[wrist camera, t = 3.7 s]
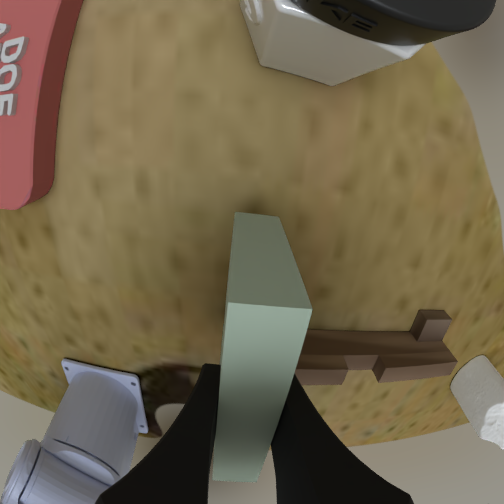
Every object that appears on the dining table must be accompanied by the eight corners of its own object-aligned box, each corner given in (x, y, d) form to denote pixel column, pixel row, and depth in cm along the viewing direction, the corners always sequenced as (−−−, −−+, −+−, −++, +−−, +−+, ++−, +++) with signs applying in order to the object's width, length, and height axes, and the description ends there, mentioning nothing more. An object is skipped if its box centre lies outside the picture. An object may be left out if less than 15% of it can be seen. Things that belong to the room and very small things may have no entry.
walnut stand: (418, 361, 25) (438, 393, 21) (232, 360, 24) (231, 402, 20) (443, 310, 23) (469, 339, 19) (240, 298, 22) (240, 338, 17)
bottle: (533, 420, 15) (539, 426, 16) (479, 348, 26) (492, 362, 27) (486, 463, 16) (498, 463, 18) (442, 386, 27) (459, 395, 29)
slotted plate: (251, 374, 18) (256, 481, 11) (219, 371, 18) (212, 479, 11) (278, 216, 14) (312, 309, 7) (234, 211, 14) (227, 302, 7)
